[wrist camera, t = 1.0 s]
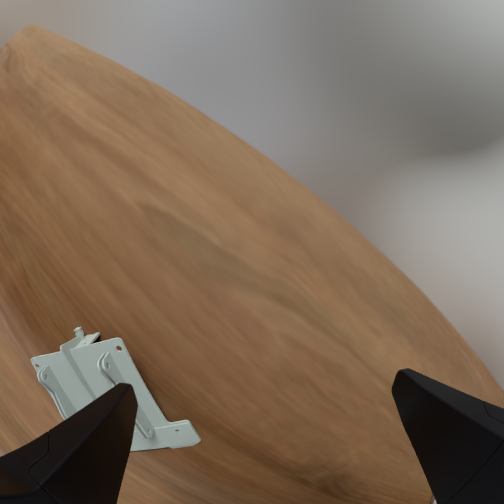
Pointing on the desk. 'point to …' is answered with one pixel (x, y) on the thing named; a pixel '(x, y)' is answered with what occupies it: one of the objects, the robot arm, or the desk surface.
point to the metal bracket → (107, 388)
